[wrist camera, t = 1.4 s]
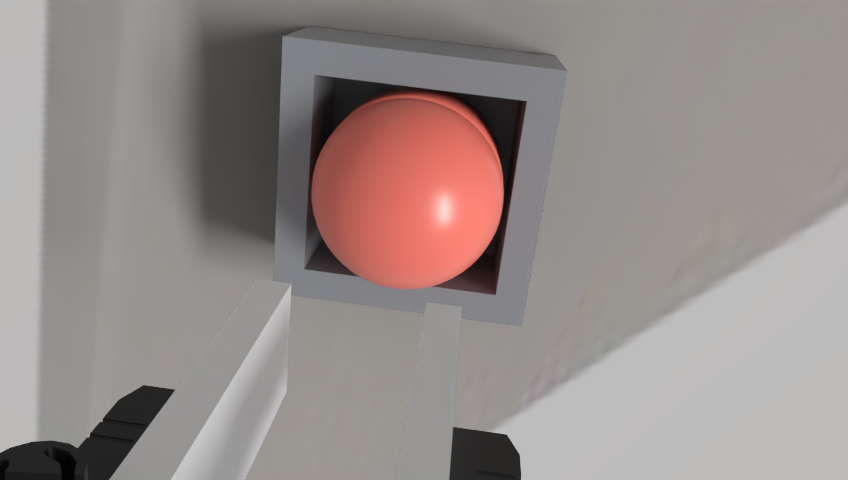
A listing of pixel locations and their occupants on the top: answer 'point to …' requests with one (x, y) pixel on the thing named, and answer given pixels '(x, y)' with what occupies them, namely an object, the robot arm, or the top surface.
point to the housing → (431, 69)
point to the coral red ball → (409, 188)
